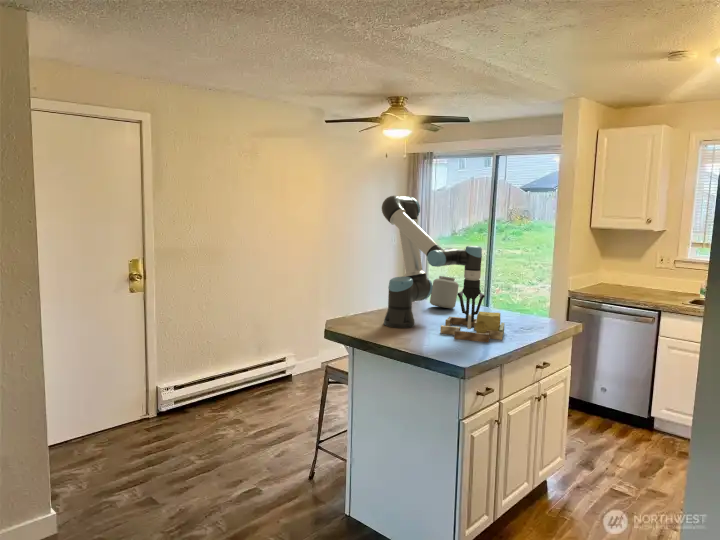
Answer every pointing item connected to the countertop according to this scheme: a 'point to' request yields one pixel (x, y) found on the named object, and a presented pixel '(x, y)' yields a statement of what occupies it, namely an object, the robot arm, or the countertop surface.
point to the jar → (444, 292)
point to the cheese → (487, 322)
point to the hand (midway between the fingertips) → (469, 328)
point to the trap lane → (469, 335)
